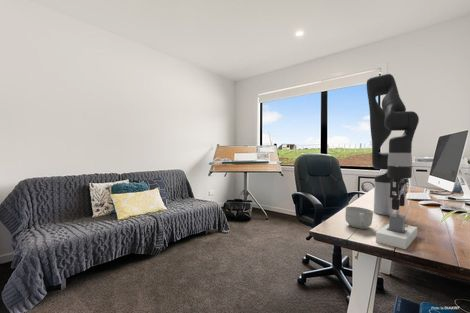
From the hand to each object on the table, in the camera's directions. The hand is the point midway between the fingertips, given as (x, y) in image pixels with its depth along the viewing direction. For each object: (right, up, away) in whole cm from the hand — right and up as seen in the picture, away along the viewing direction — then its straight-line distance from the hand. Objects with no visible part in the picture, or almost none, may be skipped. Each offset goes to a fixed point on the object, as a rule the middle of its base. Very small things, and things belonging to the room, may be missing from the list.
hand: (398, 207), depth 89 cm
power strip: (0, -12, +1) cm, 12 cm away
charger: (0, -12, 0) cm, 12 cm away
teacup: (-8, -12, +14) cm, 20 cm away
